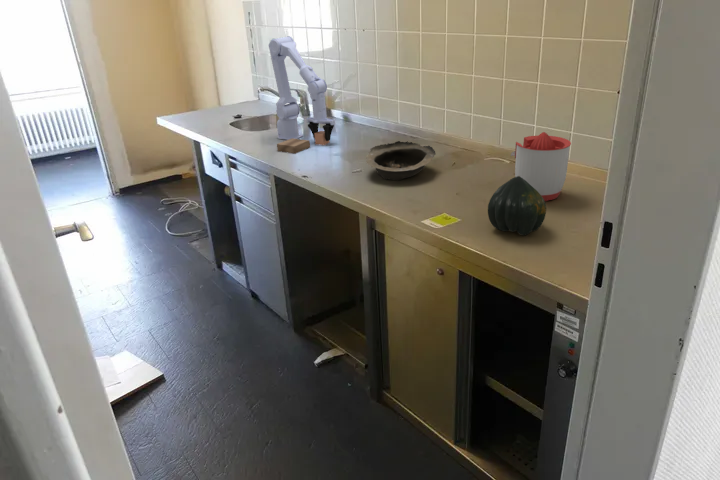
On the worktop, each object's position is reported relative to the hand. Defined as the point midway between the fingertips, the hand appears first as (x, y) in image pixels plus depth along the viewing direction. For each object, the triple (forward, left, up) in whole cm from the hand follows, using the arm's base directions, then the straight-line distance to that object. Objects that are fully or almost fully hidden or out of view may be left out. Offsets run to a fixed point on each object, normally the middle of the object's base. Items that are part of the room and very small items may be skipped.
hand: (322, 139), depth 239 cm
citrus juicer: (+102, -22, -2) cm, 104 cm away
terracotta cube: (0, 0, -2) cm, 2 cm away
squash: (+105, -49, -2) cm, 116 cm away
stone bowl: (+53, -22, -2) cm, 57 cm away
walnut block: (-6, -12, -2) cm, 14 cm away
